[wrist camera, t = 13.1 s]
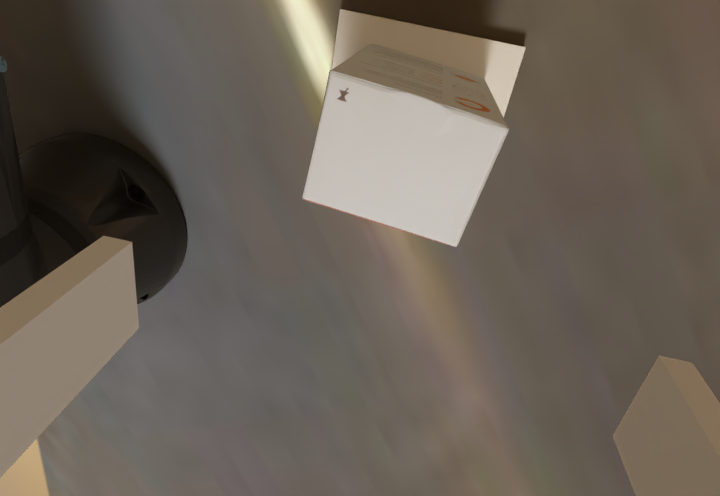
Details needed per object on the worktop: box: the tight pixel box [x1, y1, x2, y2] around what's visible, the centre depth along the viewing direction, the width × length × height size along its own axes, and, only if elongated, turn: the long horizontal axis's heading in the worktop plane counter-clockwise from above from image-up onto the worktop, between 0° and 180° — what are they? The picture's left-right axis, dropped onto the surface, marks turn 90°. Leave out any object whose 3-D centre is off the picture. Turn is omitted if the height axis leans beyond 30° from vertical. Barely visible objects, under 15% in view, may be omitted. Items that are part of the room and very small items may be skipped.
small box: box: [302, 44, 509, 247], centre depth 28 cm, size 8×6×13 cm
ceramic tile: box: [332, 9, 526, 117], centre depth 34 cm, size 12×10×1 cm
